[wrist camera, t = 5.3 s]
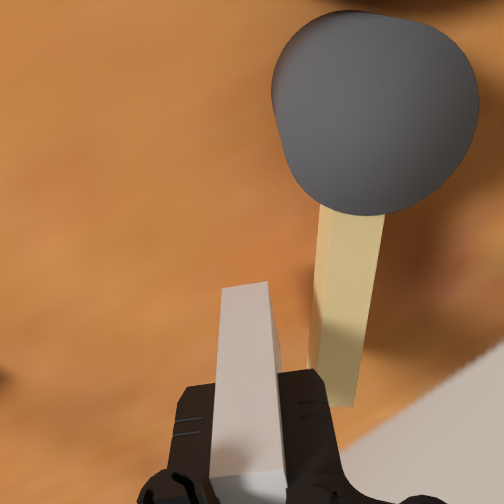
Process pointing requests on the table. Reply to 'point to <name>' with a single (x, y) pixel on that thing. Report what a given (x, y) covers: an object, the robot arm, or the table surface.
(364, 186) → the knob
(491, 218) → the table surface
